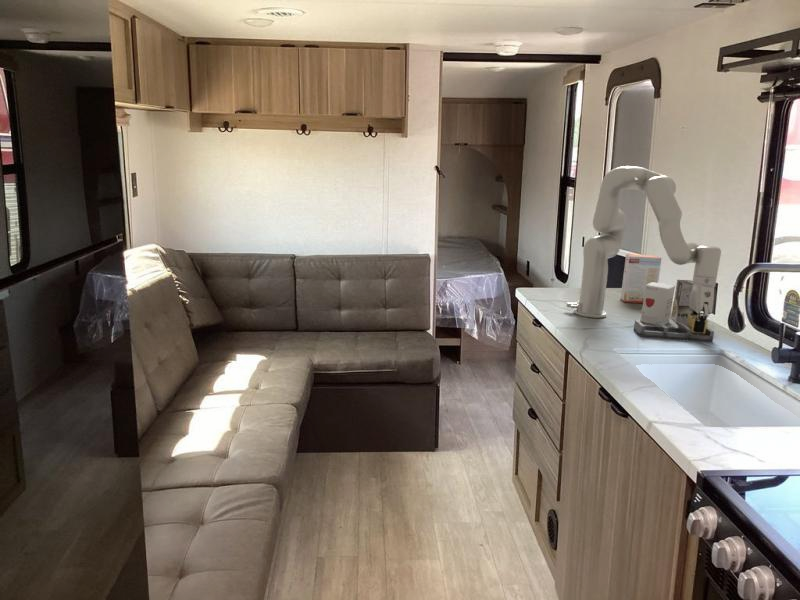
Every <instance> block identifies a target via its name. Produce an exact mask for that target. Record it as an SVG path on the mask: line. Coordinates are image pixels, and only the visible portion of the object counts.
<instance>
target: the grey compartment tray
mask: <svg viewBox="0 0 800 600" xmlns="http://www.w3.org/2000/svg"><path fill="white" fill-rule="evenodd" d="M633 331H634V332H635V333H636V334H637V335H638V337H641V338H649V339H650V338H651V339H659V340H660V339H661V340H662V339H663V340H674V341H675V340H676V341H686V342H687V341H689V342H698V343H699V342H701V343H713V339H714V337H715V336H714V334H715V331H714V330H712V329H711V328H710V327H708V326H707V328H706V333H693V332H691V331H692V330H691V329H690V328H688V327H687V324H683V323H678V325H677V327H675V326H672V327H671V326H666V325H664V324H663V323H662V322H659V321H657V322H656V325H648V324H647V325H646V324H643V322H640V319H634V325H633Z"/></svg>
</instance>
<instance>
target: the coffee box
mask: <svg viewBox="0 0 800 600" xmlns="http://www.w3.org/2000/svg"><path fill="white" fill-rule="evenodd" d="M692 281H693V280H691V279H688V280H687V279H676V285H675V290H674V296H673V303H672V305H673V306H672V310H671V311H672V313H671V316H670V317H671V319H672V320H673V321H674V322H675V324H679V323H683V324H685V325H687V321H688V315H690V313H691V311H690V310H691V308H690V306H689V304H690V297H691V292H692V288H693V284H692Z"/></svg>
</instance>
